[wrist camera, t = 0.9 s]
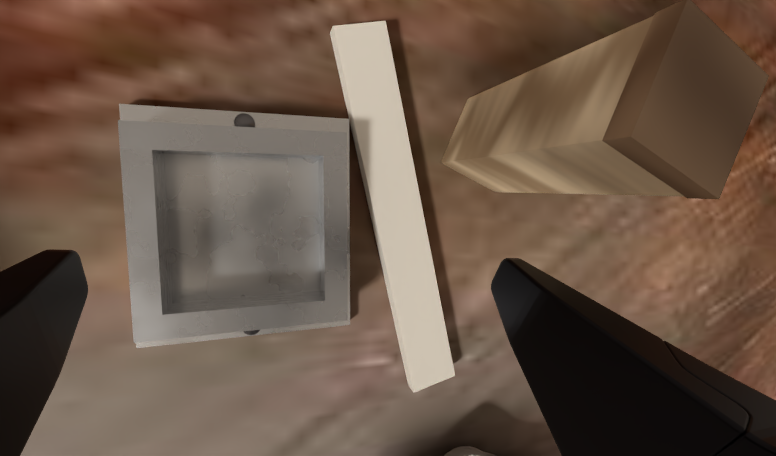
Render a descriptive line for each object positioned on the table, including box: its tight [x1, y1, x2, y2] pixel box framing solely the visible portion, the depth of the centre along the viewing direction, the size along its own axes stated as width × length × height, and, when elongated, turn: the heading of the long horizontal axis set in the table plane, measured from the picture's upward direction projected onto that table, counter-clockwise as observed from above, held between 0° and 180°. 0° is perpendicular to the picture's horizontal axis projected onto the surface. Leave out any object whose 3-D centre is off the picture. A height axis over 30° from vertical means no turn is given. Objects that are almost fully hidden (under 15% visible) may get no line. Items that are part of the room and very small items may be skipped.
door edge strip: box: [330, 21, 455, 392], centre depth 22 cm, size 22×3×1 cm, turn 13°
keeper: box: [118, 104, 350, 348], centre depth 19 cm, size 12×11×3 cm
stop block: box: [441, 0, 769, 199], centre depth 18 cm, size 5×5×13 cm
